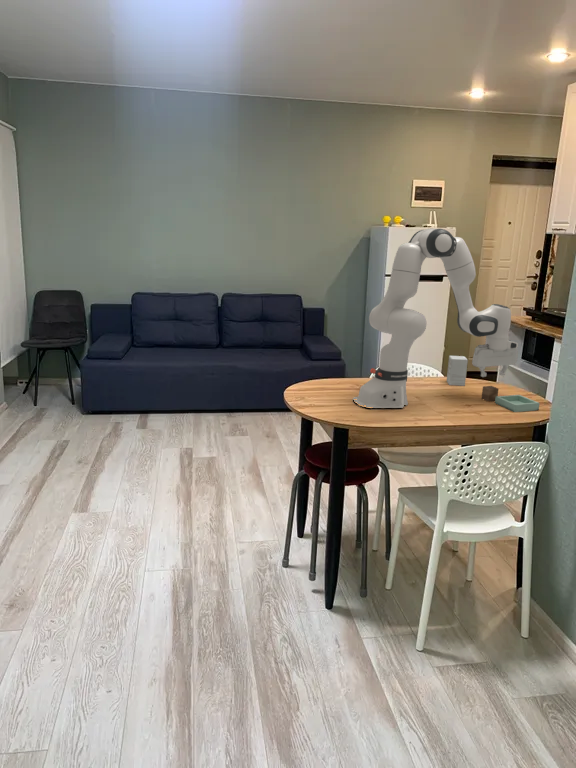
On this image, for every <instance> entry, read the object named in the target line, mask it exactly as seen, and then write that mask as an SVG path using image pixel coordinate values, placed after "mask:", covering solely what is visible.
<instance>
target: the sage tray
mask: <svg viewBox="0 0 576 768" xmlns="http://www.w3.org/2000/svg"><path fill="white" fill-rule="evenodd" d="M495 403H496V404H495ZM494 404H495V405H497V404H498V406H499V405H500V407H502V408H504V409H506V410H507V411H508V410H509V411H511V412H513V413H520V412H522V413H523V412H531V411H532V412H533V411H539V410H540V404H541V403H540V402H539V401H536V400H533V399H531V398H528V397H526V396H524V395H521V394H513V395H512V394H511V395H498V396H496V398H495V401H494Z"/></svg>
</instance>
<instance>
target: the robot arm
mask: <svg viewBox="0 0 576 768" xmlns="http://www.w3.org/2000/svg"><path fill="white" fill-rule="evenodd" d="M427 258H428V259H434V258H439V259H440V260H441V261H442V263H443V268H444V270H445V273H446V277H447V278H448V280H449V283H450V286H451V289H452V292H453V297H454V301H455V304H456V308H457V317H456V318H457V319H456V321H457V322H456V323H457V326H458V328H459V330H461V331H462V332H464V333H468V334H470V335H472V336H474V337H477V338H479V337H485V344H478V345H477V346H476V347H475V348H474V352H473V357H472V361H471V363H472V366H473V367H475V368H479V369H478V370H480V377H482V378H486V377H487V372H486V371H485V369H486V368H487V367H498V366H499V367H500V366H501V367H502V368H501V370H499V375H500V376H505V375H506V372H507V370H508V368H509V366H512V365H514V366H515V365H516V363H517V361H518V354H519V351H518V348H519V343H518V342H515V341H512V340H510V335H509V330H510V328H511V325H512V324H511V323H512V322H511V321H512V312H511V309H510V308H509V307H508V306H506V305H503V304H498V303H493V304H491V305H490V306H488V307H487V308H485V309H483V310H480V311H478V310H477V308H475V307H474V304H473V300H472V296H471V293H470V285H471V284H472V283H473V282H474V280H475V279H476V277H477V275H476V274H477V273H476V266H475V263H474V258H473V256H472V254H471V251H470V249H469V247H468V245H467V244H466V241H465V240H464V239H463V237H459V236H454V235H453V234H452V233H451V232H450V231H448V230H446V229H444V228H434V227H433V228H427V229H421V230H418V231H416V232H415V233H414V234H413V235H412V236H411V238H410V240H409V241H408V242H405V243H402V244H401V245H399V246H398V248H397V251H396V253H395V256H394V260H393V263H392V269H391V273H390V278H389V283H388V287H387V290H386V292H385V295H384V297H383V298H382V300H381V301H380V302H379V304H377V305H375V306H374V307H373V308H372V309H371V311H370V313H369V316H368V322H369V325H370V327H372V328H373V329H374V330H376V331H378V332H381V333H384V334H389V335H391V338H390V341H389V342H388V343H387V344H385V345H384V346H383V347H381V349H380V353H379V364H378V365H379V366H378V368H377V369H375V368H373V367H372V368H371V369H370V370H369V371H370V373H371V374H373V375H374V377H372V378H371V379H370V380H368V381H367V382H365V383H364V384H363V385H361V386H360V388H359V393H358V396H354V397H352V401H353V400H354V399H357V400H354V401H355V402H357V403H358V404H360V405H363V406H364V405H366V407H373V408H403V407H404V408H405V406H404V405H406V406H408V404H409V403H408V396H407V381H408V373H409V370H408V361H409V357H410V355H409V354H410V350H411V347H412V345H413V344H414V342H415V341H416V340H417V339H418V338H420V337H421V336H422V335H424V333H425V331H426V329H427V325H428V324H427V318H426V316H425V315H424V314H423V313H422V312H421V313H420V312H419V311H417V310H414V309H410V308H405V304H406V303H407V301H408V300H410V299H411V298H413V297H414V296H416V294H417V292H418V288H419V282H420V278H421V277H420V276H421V272H422V266H423V263H424V261H425V259H427ZM404 408H403V409H404Z"/></svg>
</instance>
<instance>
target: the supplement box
mask: <svg viewBox="0 0 576 768" xmlns="http://www.w3.org/2000/svg"><path fill="white" fill-rule="evenodd" d="M468 362H469V359H468V358H467V357H466V356H463V355H460V356H459V355H448V363H447V365H448V366H447V374H446V383H447V384H448V385H449V386H458V387H459V386H462V387H465V386H466V380H467V379H466V378H467V368H468Z"/></svg>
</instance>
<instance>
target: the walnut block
mask: <svg viewBox="0 0 576 768" xmlns="http://www.w3.org/2000/svg"><path fill="white" fill-rule="evenodd" d="M496 396H499V388H498V387H495V386H493V385H485V386H482V392H481V397H480V399H481V400H483V399H484V400H483V401H485V400H486V401H485V402H487V401H491V402H495V398H496Z"/></svg>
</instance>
